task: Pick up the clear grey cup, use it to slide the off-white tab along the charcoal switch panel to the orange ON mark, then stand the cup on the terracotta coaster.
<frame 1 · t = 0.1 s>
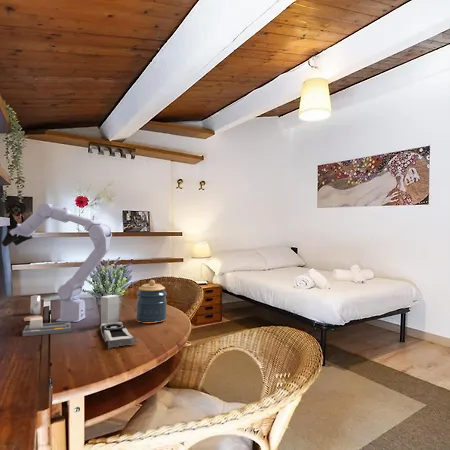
hand: (9, 244, 158), 32 cm above the table, tool tilted 50°, fingers open, 7 cm apart
clear grey cup: (35, 313, 165), on the table
switch tab: (36, 323, 137), point 3 cm above the table, slide at 0.0 cm
skincare box: (109, 325, 148), on the table
canister: (151, 321, 157), on the table
switch panel: (47, 331, 139), on the table
coaster: (33, 319, 155), on the table
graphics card: (117, 339, 133), on the table
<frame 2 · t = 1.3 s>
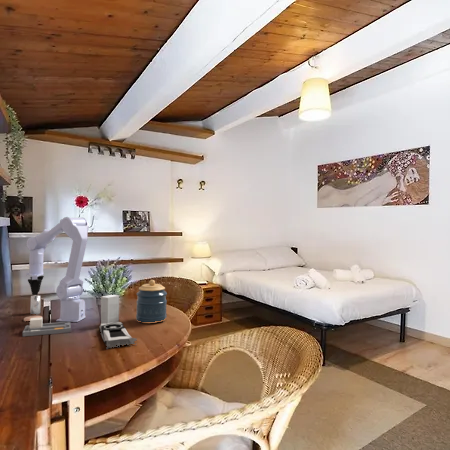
hand: (35, 293, 165), 9 cm above the table, tool pointing down, fingers open, 7 cm apart
nothing on the table moved.
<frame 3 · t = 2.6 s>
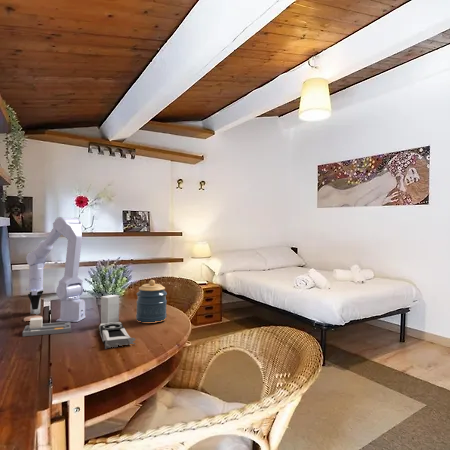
hand: (35, 308, 165), 2 cm above the table, tool pointing down, fingers closed on clear grey cup, 4 cm apart
clear grey cup: (35, 313, 165), on the table, touching gripper
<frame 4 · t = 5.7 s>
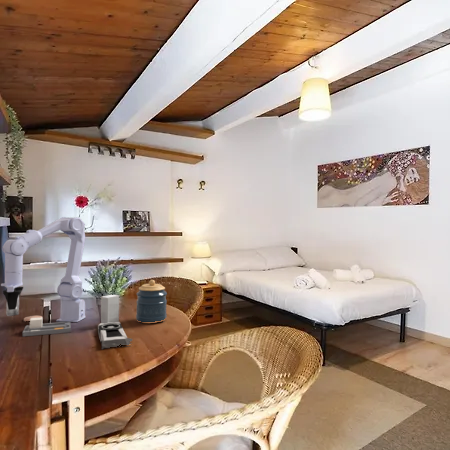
hand: (13, 308, 135), 9 cm above the table, tool pointing down, fingers closed on clear grey cup, 4 cm apart
clear grey cup: (12, 314, 135), point 7 cm above the table, touching gripper
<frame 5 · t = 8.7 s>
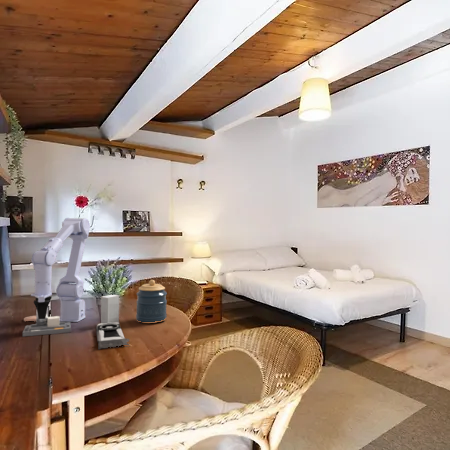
hand: (42, 317, 138), 5 cm above the table, tool pointing down, fingers closed on clear grey cup, 4 cm apart
clear grey cup: (41, 323, 138), point 3 cm above the table, touching gripper, switch tab
switch tab: (53, 321, 139), point 3 cm above the table, slide at 6.0 cm, touching clear grey cup
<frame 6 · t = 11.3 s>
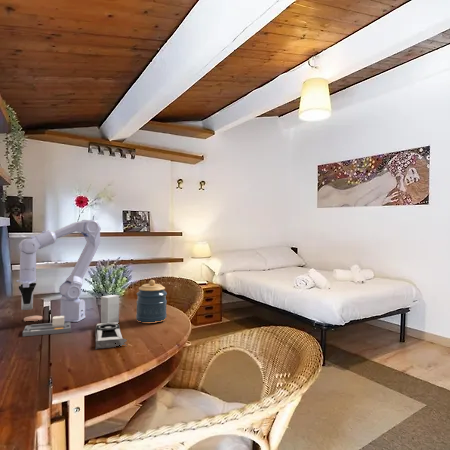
hand: (27, 302, 145), 9 cm above the table, tool pointing down, fingers closed on clear grey cup, 4 cm apart
clear grey cup: (27, 308, 145), point 7 cm above the table, touching gripper
switch tab: (58, 321, 140), point 3 cm above the table, slide at 7.7 cm
when the fingers open (4 cm above the table, at t = 13.2 s): clear grey cup drops 1 cm, resting on coaster.
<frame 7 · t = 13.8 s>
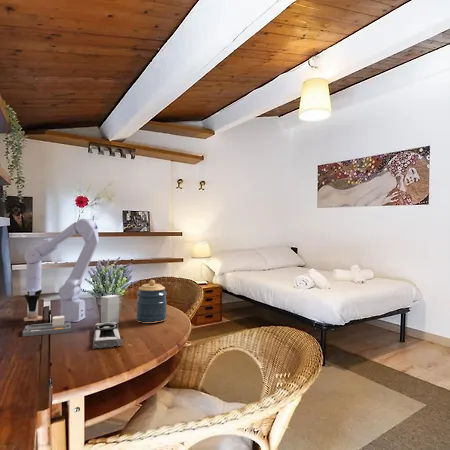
hand: (33, 309, 155), 4 cm above the table, tool pointing down, fingers open, 7 cm apart
clear grey cup: (32, 317, 154), point 1 cm above the table, touching coaster
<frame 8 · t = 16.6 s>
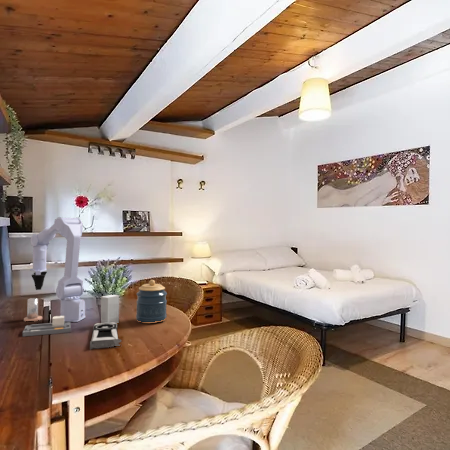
hand: (39, 288, 171), 10 cm above the table, tool pointing down, fingers open, 7 cm apart
at the end: switch tab slide at 7.7 cm; clear grey cup 0.2 cm from the coaster (horizontally); clear grey cup tilted 0° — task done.
